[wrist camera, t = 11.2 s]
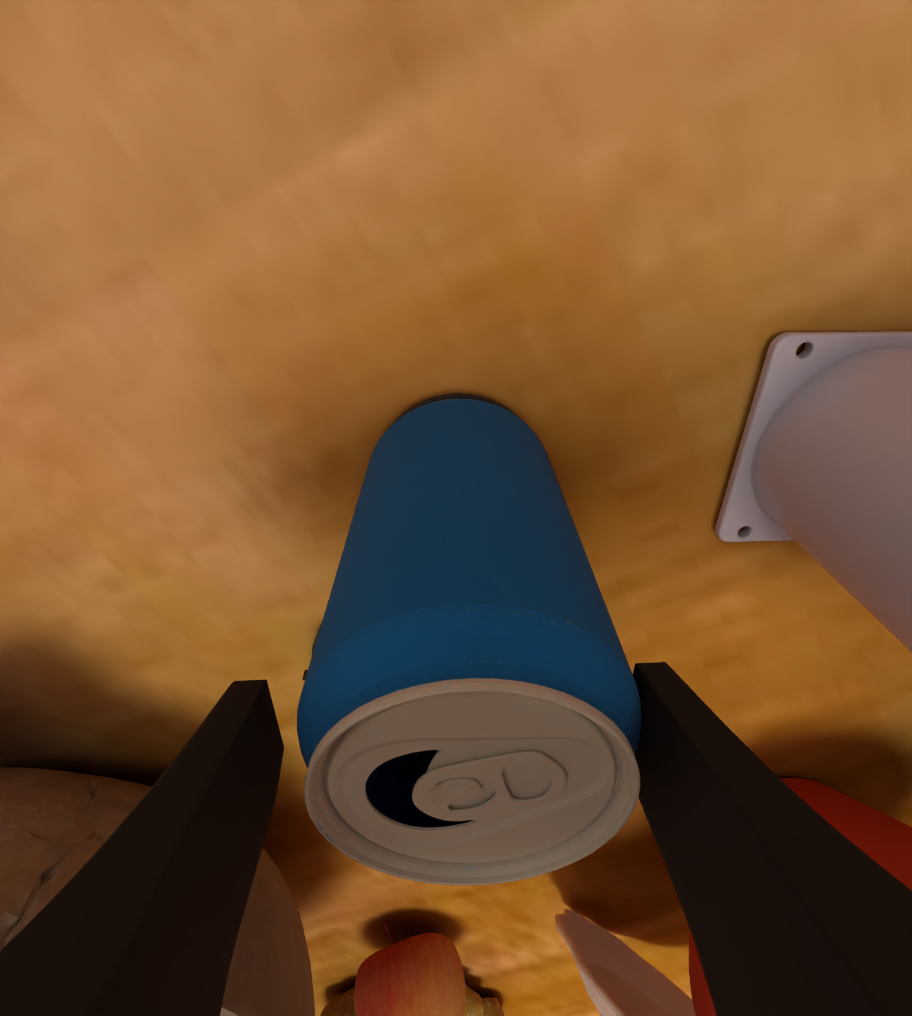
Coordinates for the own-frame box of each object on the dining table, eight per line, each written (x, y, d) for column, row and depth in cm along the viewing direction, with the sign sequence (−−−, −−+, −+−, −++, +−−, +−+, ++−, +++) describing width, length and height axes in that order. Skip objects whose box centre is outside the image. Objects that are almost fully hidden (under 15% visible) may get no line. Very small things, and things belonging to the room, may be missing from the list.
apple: (503, 1052, 33) (471, 901, 39) (420, 1076, 29) (398, 902, 35) (422, 1083, 36) (404, 937, 42) (335, 1109, 31) (328, 941, 37)
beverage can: (341, 421, 18) (200, 721, 8) (526, 366, 17) (644, 622, 7) (404, 566, 21) (363, 917, 11) (562, 527, 20) (681, 866, 10)
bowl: (274, 649, 23) (181, 911, 15) (383, 929, 37) (368, 1148, 29) (-321, 711, 24) (-743, 999, 15) (5, 964, 38) (-121, 1189, 29)
